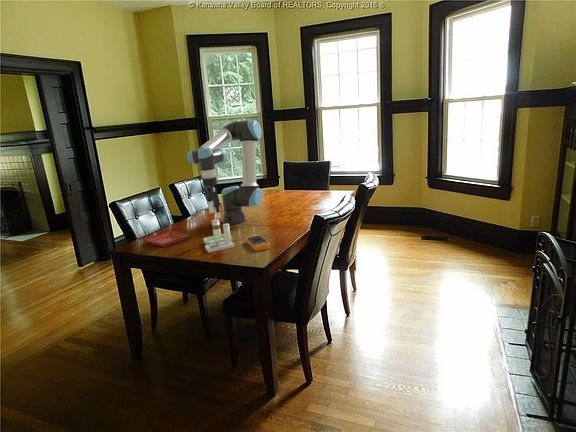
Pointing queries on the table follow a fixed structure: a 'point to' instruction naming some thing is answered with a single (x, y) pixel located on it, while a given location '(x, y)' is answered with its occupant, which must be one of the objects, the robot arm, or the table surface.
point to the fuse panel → (218, 246)
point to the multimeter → (258, 242)
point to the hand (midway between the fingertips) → (215, 215)
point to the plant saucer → (166, 241)
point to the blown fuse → (216, 229)
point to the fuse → (227, 233)
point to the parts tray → (211, 241)
